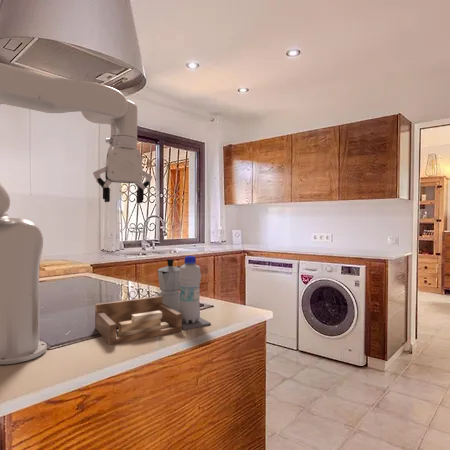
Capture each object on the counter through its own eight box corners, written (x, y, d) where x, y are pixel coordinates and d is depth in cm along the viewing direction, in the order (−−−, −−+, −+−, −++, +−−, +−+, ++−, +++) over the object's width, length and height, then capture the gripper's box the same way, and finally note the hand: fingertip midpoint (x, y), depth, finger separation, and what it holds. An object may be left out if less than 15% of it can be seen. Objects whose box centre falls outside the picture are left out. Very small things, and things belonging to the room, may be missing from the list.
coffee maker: (175, 318, 112) (175, 261, 111) (149, 316, 114) (149, 260, 113) (190, 306, 126) (191, 256, 126) (167, 304, 128) (167, 255, 128)
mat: (183, 329, 101) (183, 327, 101) (170, 321, 109) (170, 319, 109) (210, 324, 106) (210, 322, 106) (196, 317, 114) (196, 315, 114)
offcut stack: (119, 340, 92) (119, 318, 92) (116, 337, 94) (116, 316, 94) (168, 331, 100) (169, 311, 100) (165, 328, 102) (165, 309, 102)
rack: (109, 344, 89) (109, 317, 89) (95, 328, 102) (95, 303, 101) (181, 331, 100) (181, 306, 100) (160, 317, 113) (160, 295, 112)
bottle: (197, 325, 103) (198, 257, 103) (175, 323, 105) (175, 256, 104) (203, 319, 110) (203, 254, 109) (182, 317, 111) (183, 254, 110)
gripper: (96, 138, 96) (96, 201, 97) (156, 145, 106) (156, 203, 107) (90, 142, 103) (90, 201, 103) (147, 149, 112) (146, 203, 113)
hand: (123, 202), depth 105 cm, fingers open, 9 cm apart
